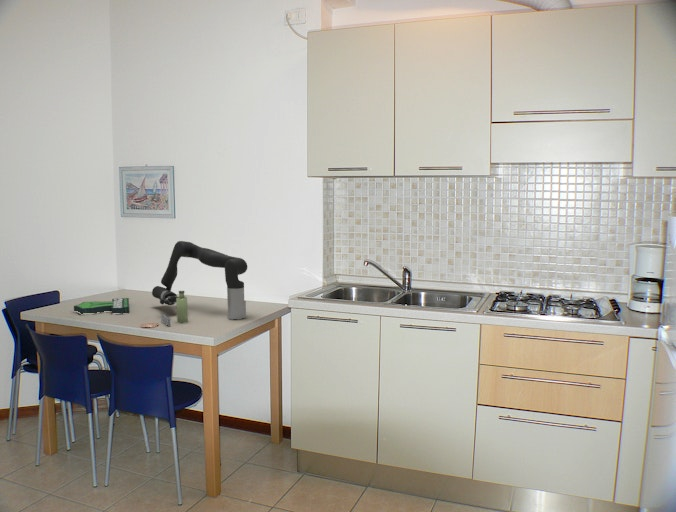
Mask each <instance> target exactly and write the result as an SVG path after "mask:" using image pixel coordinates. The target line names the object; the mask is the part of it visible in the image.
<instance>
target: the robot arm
mask: <svg viewBox="0 0 676 512" xmlns="http://www.w3.org/2000/svg"><path fill="white" fill-rule="evenodd" d="M181 258H189V259H190V258H191V259H196V260H198V261H199V262H200V263H201V264H203V265H206V266H209V267H212V268H221V269H222V268H223V269H224V277H225V283H226V287H227V288H226V291H227V296H226V297H227V319H229V320H233V319H237V320H242V318H243V319H245V318H247V302H246V300H245V282H244V281H242V280H240V279H239V276H240V275H243V274H245V273H246V272H247V270H248V264H247V261H246V260H244V259H243V258H241V257H236V256H230V255H228V254H225V253H222V252H220V251H217V250H214V249H211V248H206V247H201V246H199V245H196V244H195V243H194V242H193V243H192V242H191V241H183V240H179V241H177V242H176V243H175V244H174V247H173V249H172V252H171V255H170V258H169V262H168V265H167V267H166V270H165V272H164V274H163V276H162V278H161V280H160V283H161V285H162V286H164V287H162V286H161V285H157V286H154V287H153V288H152V290H151V295H152V297H153V298H154V299H155V298H156V299H158V300H159V304H161V305H167V306H173V305H175V304H177V302H176V298H179V295H177V294H176V293H175V292H173V291H172V287H173V285H174V282H175V280H176V278H177V277H178V263H179V261H180V260H181ZM184 297H186V296H185V295H184Z"/></svg>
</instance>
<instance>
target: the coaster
mask: <svg viewBox="0 0 676 512" xmlns="http://www.w3.org/2000/svg"><path fill="white" fill-rule="evenodd" d="M157 325H158V326H159V323H157V322H147V323H142V324H140V325H139V326H141V327H154V326H157ZM158 326H157V327H158ZM141 327H140V328H141ZM154 328H155V327H154Z"/></svg>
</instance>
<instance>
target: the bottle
mask: <svg viewBox="0 0 676 512" xmlns="http://www.w3.org/2000/svg"><path fill="white" fill-rule="evenodd" d="M184 296H185V290H178V297H179V298H176V302H177V303H176V322H186V323H188V322H189V314H188V313H189V312H188V310H189V309H188V297H187V296H185V297H184ZM187 321H188V322H187Z"/></svg>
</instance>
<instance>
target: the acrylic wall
mask: <svg viewBox="0 0 676 512" xmlns="http://www.w3.org/2000/svg"><path fill="white" fill-rule="evenodd" d="M160 318H161V321H160V322H162V321H163V322H164V323H165V324H167V325H168V326H170V327H171V318H169V317H168V316H166V315H165V314H164V313H161V314H160ZM163 322H162V323H163ZM164 323H163V324H164ZM165 324H164V325H165ZM167 325H166V326H167ZM168 326H167V327H168Z"/></svg>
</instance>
